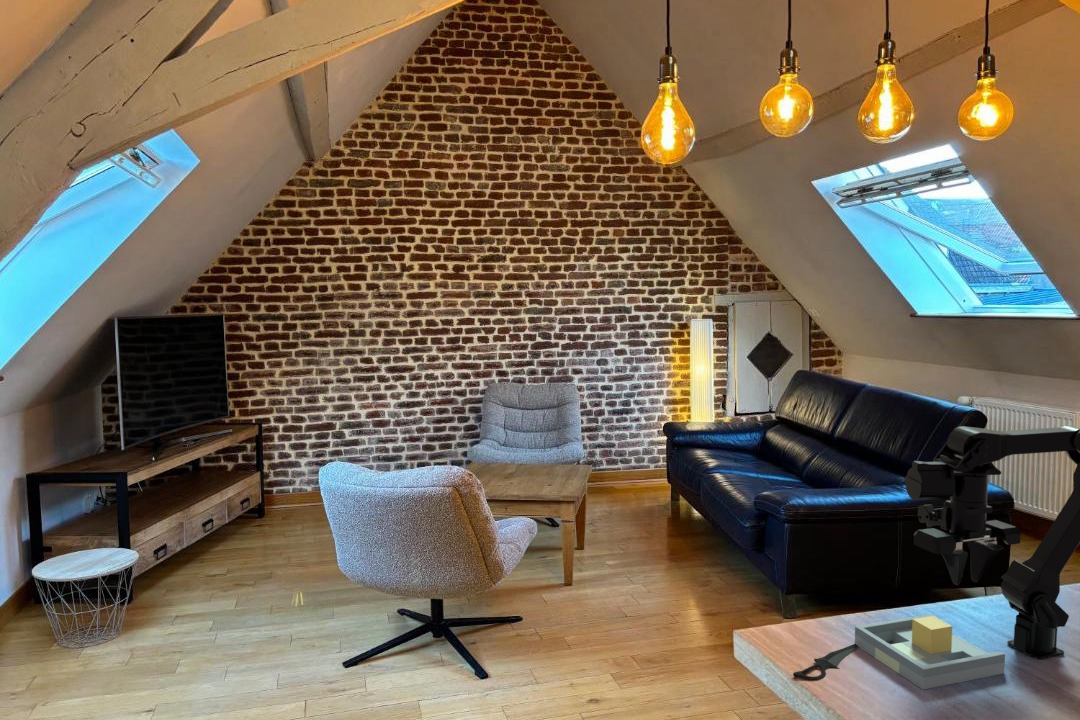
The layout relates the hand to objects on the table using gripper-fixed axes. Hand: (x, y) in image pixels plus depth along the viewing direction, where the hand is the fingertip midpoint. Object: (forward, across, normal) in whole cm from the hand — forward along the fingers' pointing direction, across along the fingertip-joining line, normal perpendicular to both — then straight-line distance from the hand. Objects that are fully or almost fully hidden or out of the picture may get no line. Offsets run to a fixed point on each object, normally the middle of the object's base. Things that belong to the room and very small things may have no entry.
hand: (965, 582), depth 141 cm
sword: (+14, +22, -5) cm, 26 cm away
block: (+11, +7, 0) cm, 13 cm away
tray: (+13, +8, 0) cm, 15 cm away
